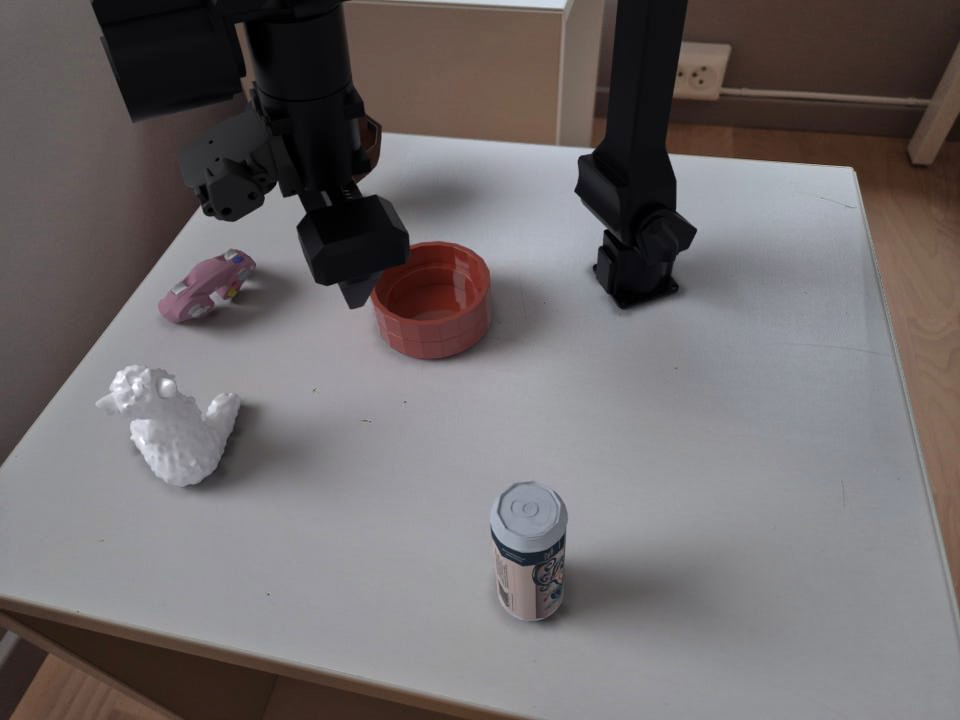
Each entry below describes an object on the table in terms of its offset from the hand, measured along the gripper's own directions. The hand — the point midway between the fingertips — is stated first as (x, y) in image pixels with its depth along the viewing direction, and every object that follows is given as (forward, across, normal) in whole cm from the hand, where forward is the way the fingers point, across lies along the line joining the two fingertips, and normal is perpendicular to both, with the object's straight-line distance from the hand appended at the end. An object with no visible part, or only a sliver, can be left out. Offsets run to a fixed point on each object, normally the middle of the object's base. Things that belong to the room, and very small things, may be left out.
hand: (338, 266), depth 57 cm
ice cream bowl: (+15, -25, +6) cm, 30 cm away
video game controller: (+16, -17, -10) cm, 25 cm away
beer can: (+13, +24, +5) cm, 28 cm away
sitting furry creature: (+16, +1, -15) cm, 22 cm away
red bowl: (+14, -4, +9) cm, 17 cm away
